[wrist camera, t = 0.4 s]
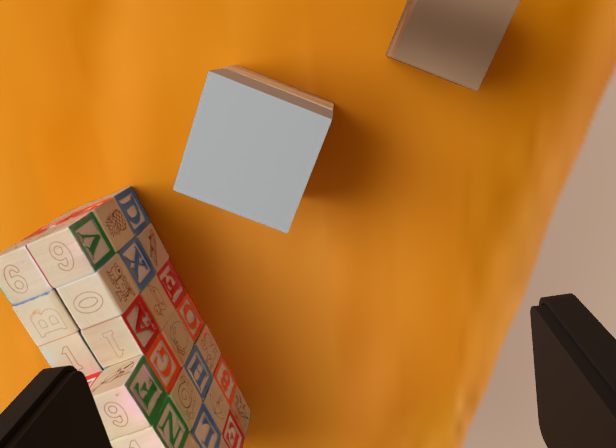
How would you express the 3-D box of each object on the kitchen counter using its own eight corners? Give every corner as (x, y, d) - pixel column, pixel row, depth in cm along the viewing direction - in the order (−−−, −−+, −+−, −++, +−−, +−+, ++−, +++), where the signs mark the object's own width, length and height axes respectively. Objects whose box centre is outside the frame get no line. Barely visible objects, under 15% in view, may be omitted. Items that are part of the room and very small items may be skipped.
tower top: (224, 68, 32) (208, 70, 28) (333, 110, 32) (332, 119, 28) (191, 173, 34) (172, 190, 30) (293, 212, 34) (287, 233, 31)
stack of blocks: (61, 213, 40) (-56, 283, 28) (133, 183, 39) (41, 243, 27) (188, 433, 46) (135, 567, 34) (254, 413, 44) (222, 543, 33)
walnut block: (417, -24, 33) (432, -38, 27) (490, 6, 33) (520, -1, 28) (385, 55, 35) (393, 58, 29) (455, 83, 35) (477, 91, 29)
